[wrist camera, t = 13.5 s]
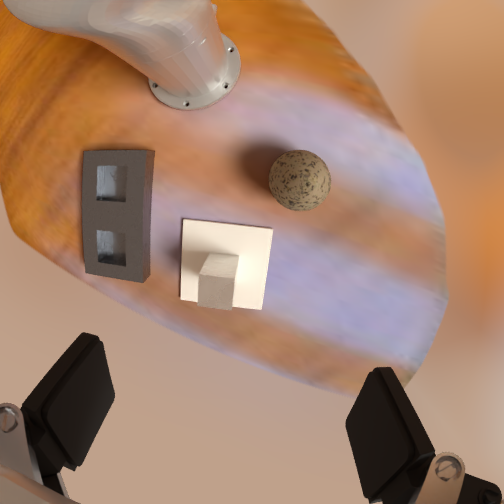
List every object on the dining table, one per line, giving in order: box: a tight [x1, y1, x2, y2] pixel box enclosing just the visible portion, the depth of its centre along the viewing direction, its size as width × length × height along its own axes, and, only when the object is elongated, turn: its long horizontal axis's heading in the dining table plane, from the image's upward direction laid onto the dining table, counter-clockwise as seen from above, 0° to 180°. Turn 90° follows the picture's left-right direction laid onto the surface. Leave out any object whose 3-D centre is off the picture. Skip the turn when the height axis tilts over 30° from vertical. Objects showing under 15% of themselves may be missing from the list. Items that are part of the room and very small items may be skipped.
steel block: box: [197, 252, 239, 310], centre depth 35 cm, size 4×4×8 cm
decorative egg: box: [269, 150, 331, 211], centre depth 31 cm, size 7×7×10 cm
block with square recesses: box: [82, 150, 155, 283], centre depth 36 cm, size 18×10×3 cm, turn 173°
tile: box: [181, 219, 273, 310], centre depth 39 cm, size 12×12×1 cm
